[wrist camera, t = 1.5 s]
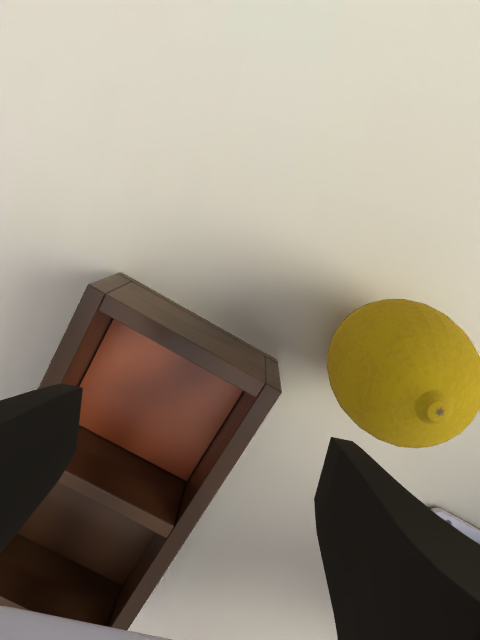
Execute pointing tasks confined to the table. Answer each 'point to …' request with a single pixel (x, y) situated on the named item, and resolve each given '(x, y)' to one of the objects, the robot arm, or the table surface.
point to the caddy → (135, 451)
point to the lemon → (405, 373)
